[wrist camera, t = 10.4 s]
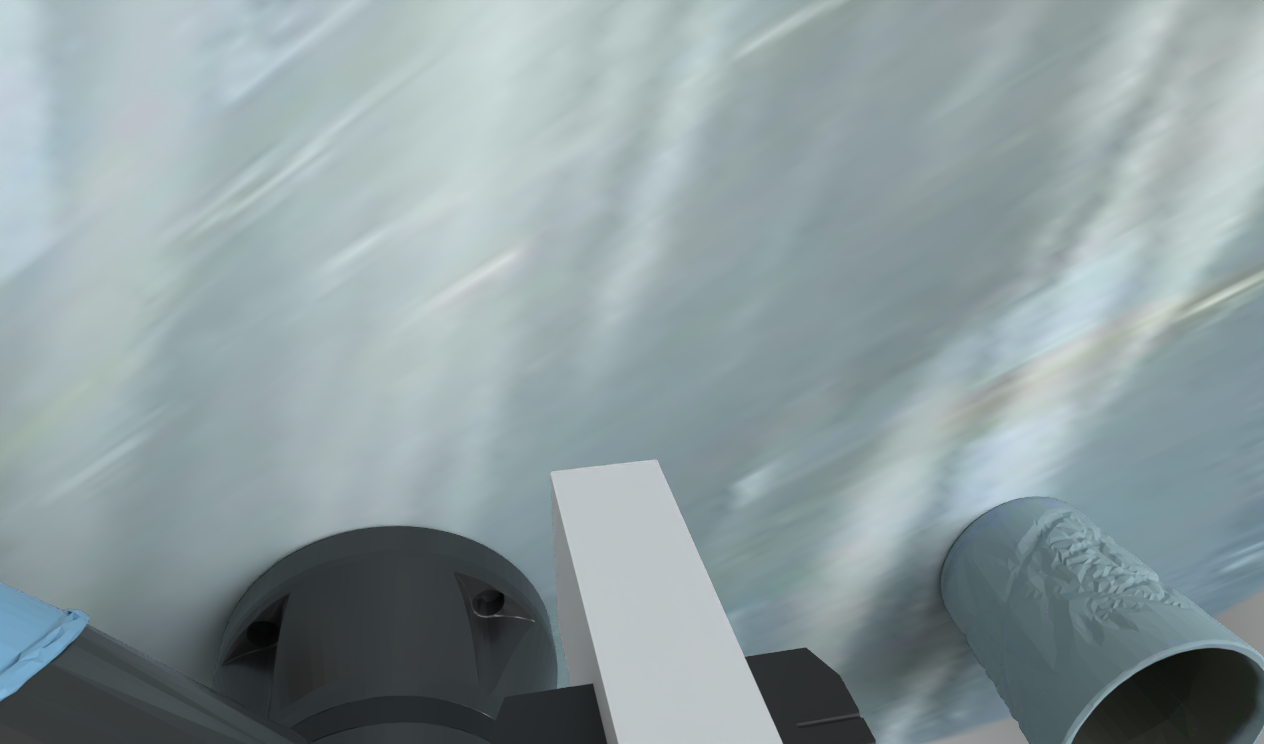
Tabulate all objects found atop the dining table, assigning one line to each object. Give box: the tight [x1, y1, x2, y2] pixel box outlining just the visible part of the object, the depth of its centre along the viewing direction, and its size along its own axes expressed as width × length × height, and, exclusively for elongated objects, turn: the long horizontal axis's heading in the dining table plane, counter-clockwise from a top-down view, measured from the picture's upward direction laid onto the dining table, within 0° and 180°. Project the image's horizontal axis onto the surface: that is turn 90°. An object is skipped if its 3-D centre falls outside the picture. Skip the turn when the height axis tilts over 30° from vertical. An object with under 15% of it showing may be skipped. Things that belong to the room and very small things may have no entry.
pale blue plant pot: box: [940, 497, 1264, 744], centre depth 47 cm, size 10×10×12 cm
